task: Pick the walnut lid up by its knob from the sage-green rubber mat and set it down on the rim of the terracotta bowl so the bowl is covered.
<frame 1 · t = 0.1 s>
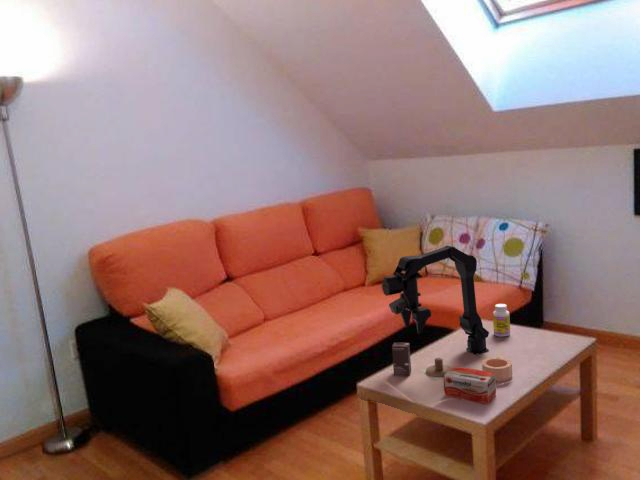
hand: (413, 330, 222), 15 cm above the table, fingers open, 9 cm apart
supplement bottle: (502, 334, 249), on the table
box: (402, 375, 219), on the table
medicine box: (470, 396, 197), on the table
bowl: (497, 376, 209), on the table
mat: (439, 372, 217), on the table
lid: (439, 371, 217), resting on mat
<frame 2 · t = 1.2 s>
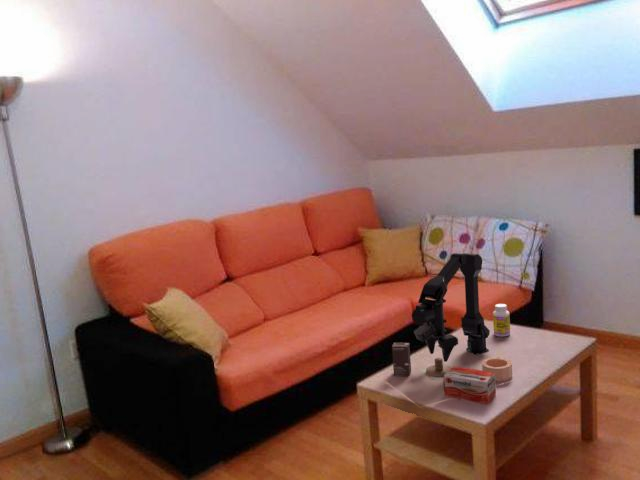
hand: (438, 357, 216), 6 cm above the table, fingers open, 9 cm apart
nothing on the table moved.
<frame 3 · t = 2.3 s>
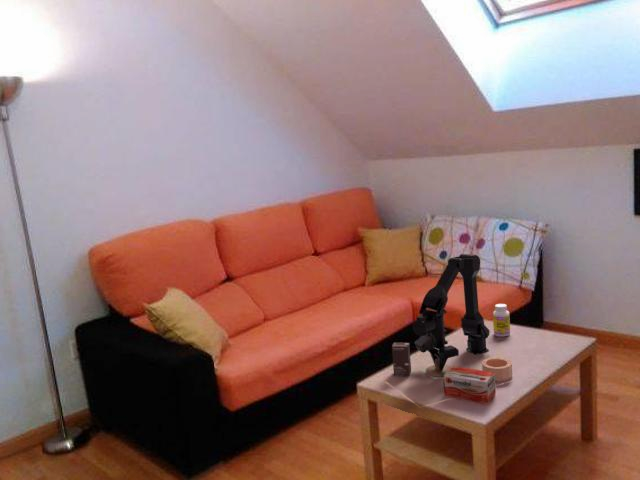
hand: (439, 368, 217), 2 cm above the table, fingers closed on lid, 3 cm apart
lid: (439, 371, 217), resting on mat, touching gripper
everything else where it was.
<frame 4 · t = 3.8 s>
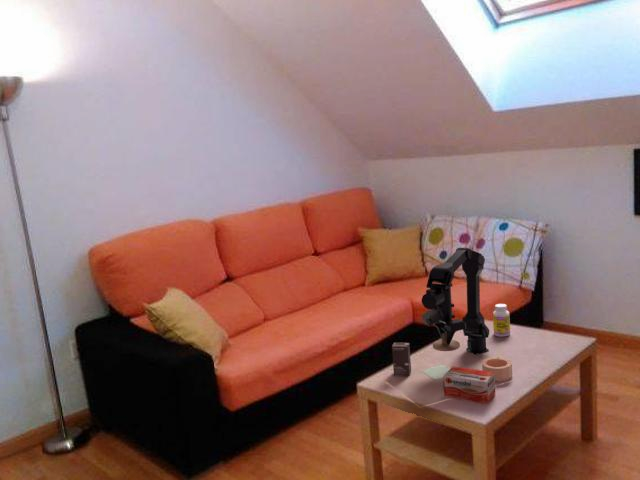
hand: (446, 342, 214), 12 cm above the table, fingers closed on lid, 3 cm apart
lid: (446, 346, 214), point 10 cm above the table, touching gripper
everything else where it was.
when the fingers open (8 cm above the table, at t = 5.5 s): lid drops 2 cm, resting on bowl.
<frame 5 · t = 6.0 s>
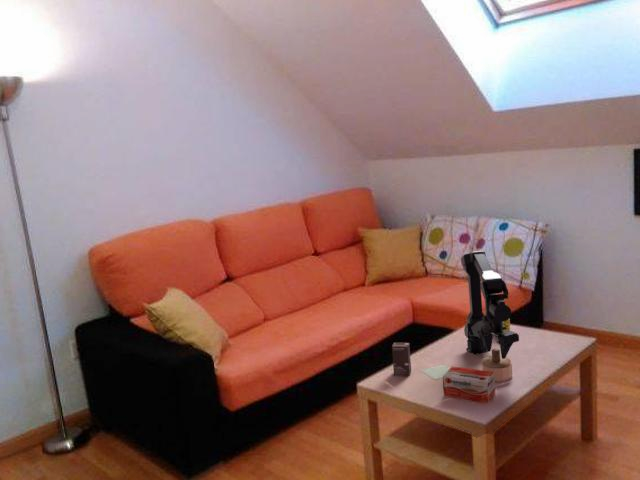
hand: (496, 354, 208), 8 cm above the table, fingers open, 8 cm apart
lid: (496, 362, 208), point 5 cm above the table, touching bowl
everything else where it was.
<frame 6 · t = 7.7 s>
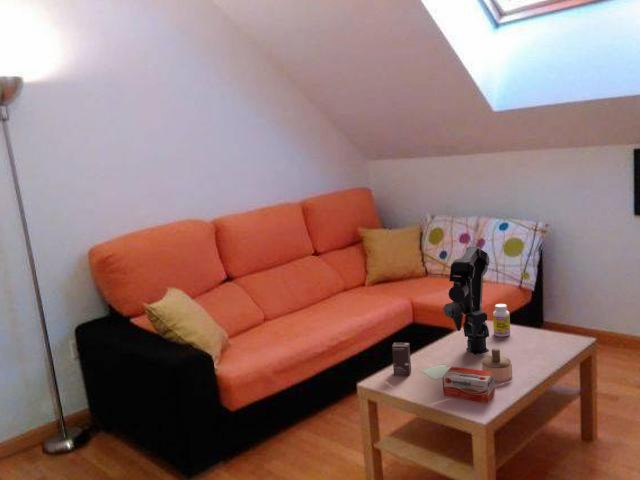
hand: (466, 334, 219), 12 cm above the table, fingers open, 9 cm apart
nothing on the table moved.
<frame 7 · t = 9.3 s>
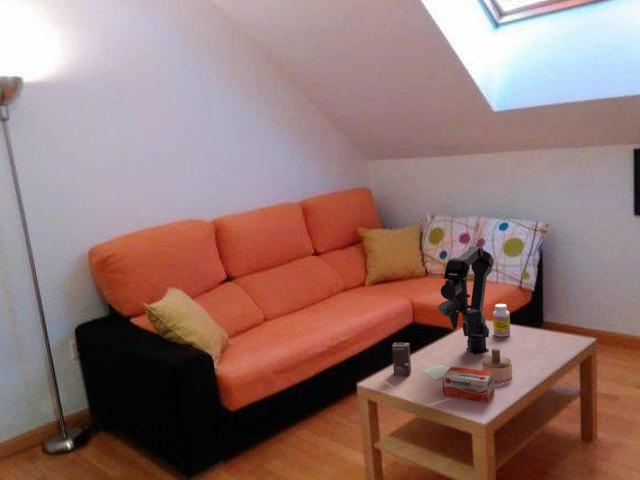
hand: (461, 332, 221), 13 cm above the table, fingers open, 9 cm apart
nothing on the table moved.
at the end: lid 0.1 cm off-centre on the bowl, point 5.0 cm above the bowl's base; lid tilted 0°; the gripper is holding nothing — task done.
